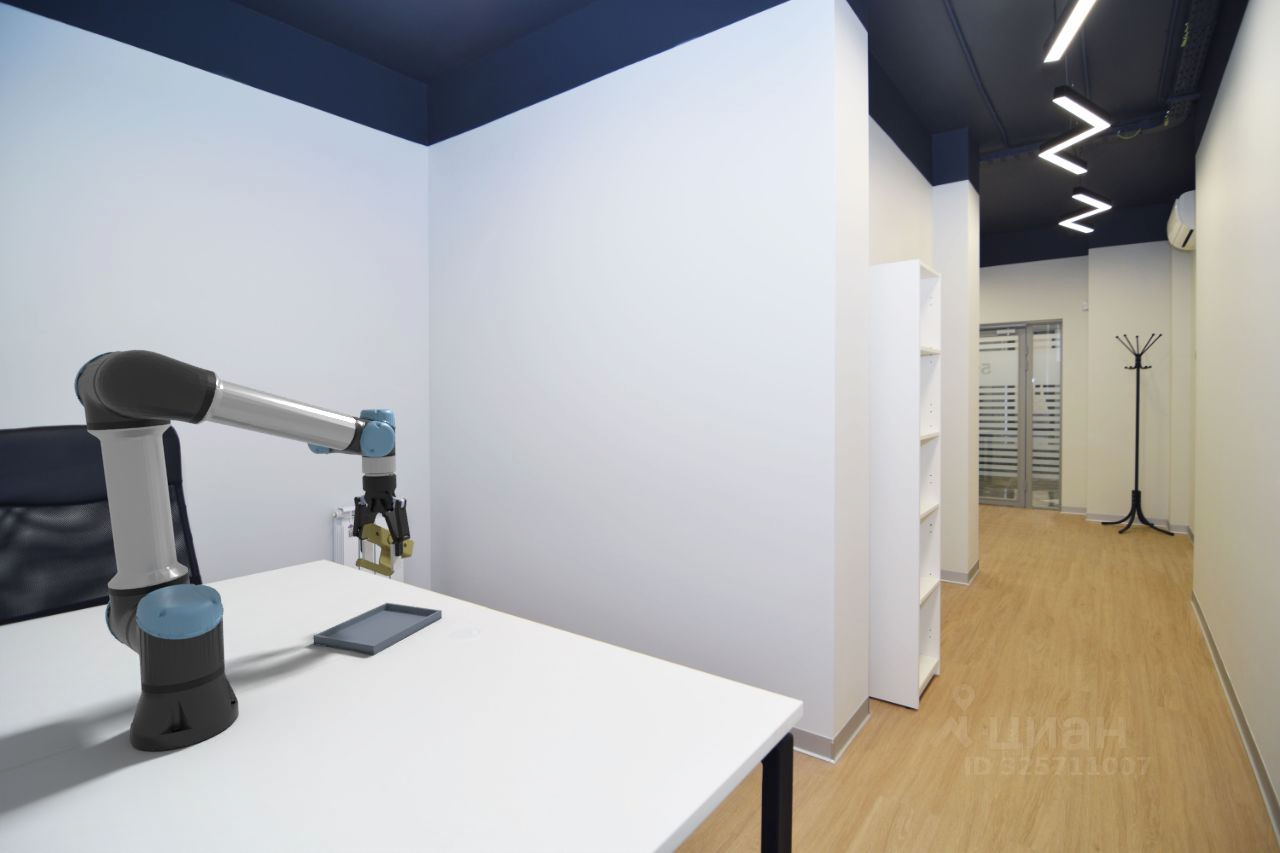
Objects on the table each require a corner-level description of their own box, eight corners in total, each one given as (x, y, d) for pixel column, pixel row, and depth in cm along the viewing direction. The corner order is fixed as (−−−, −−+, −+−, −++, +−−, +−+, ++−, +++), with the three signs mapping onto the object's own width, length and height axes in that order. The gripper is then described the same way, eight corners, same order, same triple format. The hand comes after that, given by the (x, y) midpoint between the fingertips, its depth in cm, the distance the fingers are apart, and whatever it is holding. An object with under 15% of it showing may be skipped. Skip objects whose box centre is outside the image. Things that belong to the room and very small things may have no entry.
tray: (373, 655, 137) (373, 646, 137) (313, 644, 143) (313, 635, 143) (441, 618, 159) (441, 610, 159) (387, 610, 165) (386, 602, 164)
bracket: (377, 588, 156) (408, 581, 152) (329, 572, 145) (361, 565, 141) (385, 547, 161) (415, 540, 158) (339, 529, 150) (370, 521, 147)
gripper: (425, 473, 150) (427, 567, 151) (357, 469, 157) (360, 559, 158) (403, 477, 143) (406, 576, 144) (333, 473, 150) (336, 567, 151)
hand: (382, 567), depth 151 cm, fingers closed on bracket, 8 cm apart
